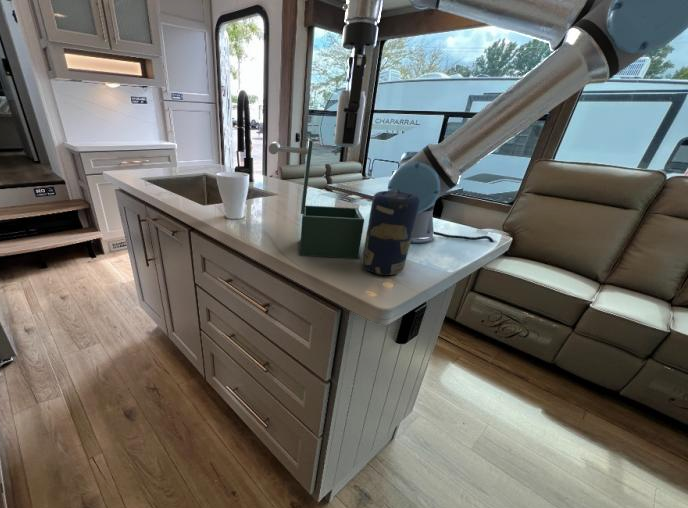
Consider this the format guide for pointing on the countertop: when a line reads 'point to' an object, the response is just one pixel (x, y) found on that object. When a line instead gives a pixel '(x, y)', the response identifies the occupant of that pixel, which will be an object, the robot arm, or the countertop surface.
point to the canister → (389, 231)
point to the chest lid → (276, 147)
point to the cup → (233, 192)
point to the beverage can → (341, 119)
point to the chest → (331, 231)
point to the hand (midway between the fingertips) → (346, 142)
